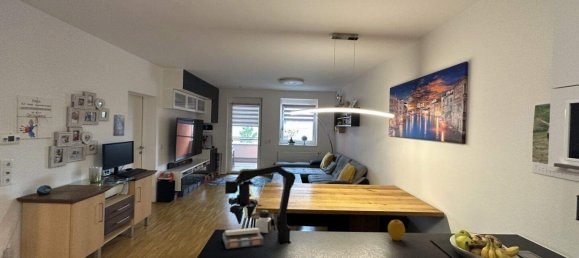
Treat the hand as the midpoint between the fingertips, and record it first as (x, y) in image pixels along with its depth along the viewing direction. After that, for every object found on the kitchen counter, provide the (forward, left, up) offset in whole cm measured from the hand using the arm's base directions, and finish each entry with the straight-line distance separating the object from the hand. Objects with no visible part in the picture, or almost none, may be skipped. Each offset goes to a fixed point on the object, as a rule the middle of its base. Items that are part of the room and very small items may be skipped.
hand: (244, 221), depth 166 cm
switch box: (0, -4, -13) cm, 13 cm away
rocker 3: (-6, -5, -9) cm, 12 cm away
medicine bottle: (-16, -18, -13) cm, 27 cm away
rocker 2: (0, -5, -9) cm, 10 cm away
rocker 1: (+6, -5, -9) cm, 12 cm away
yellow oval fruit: (-87, +17, -13) cm, 90 cm away
